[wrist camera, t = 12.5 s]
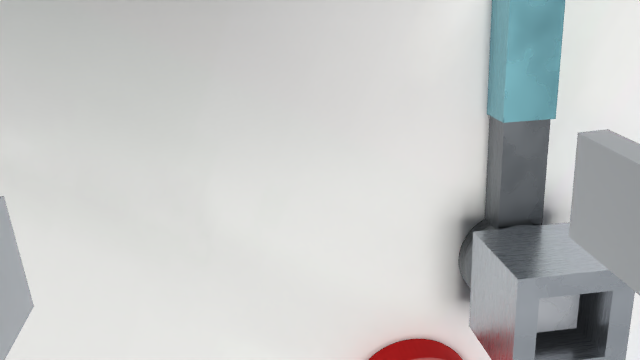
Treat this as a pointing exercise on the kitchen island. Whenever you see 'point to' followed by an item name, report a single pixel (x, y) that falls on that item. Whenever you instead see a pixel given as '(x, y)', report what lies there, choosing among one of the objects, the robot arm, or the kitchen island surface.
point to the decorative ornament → (416, 351)
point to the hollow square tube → (544, 296)
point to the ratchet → (522, 130)
